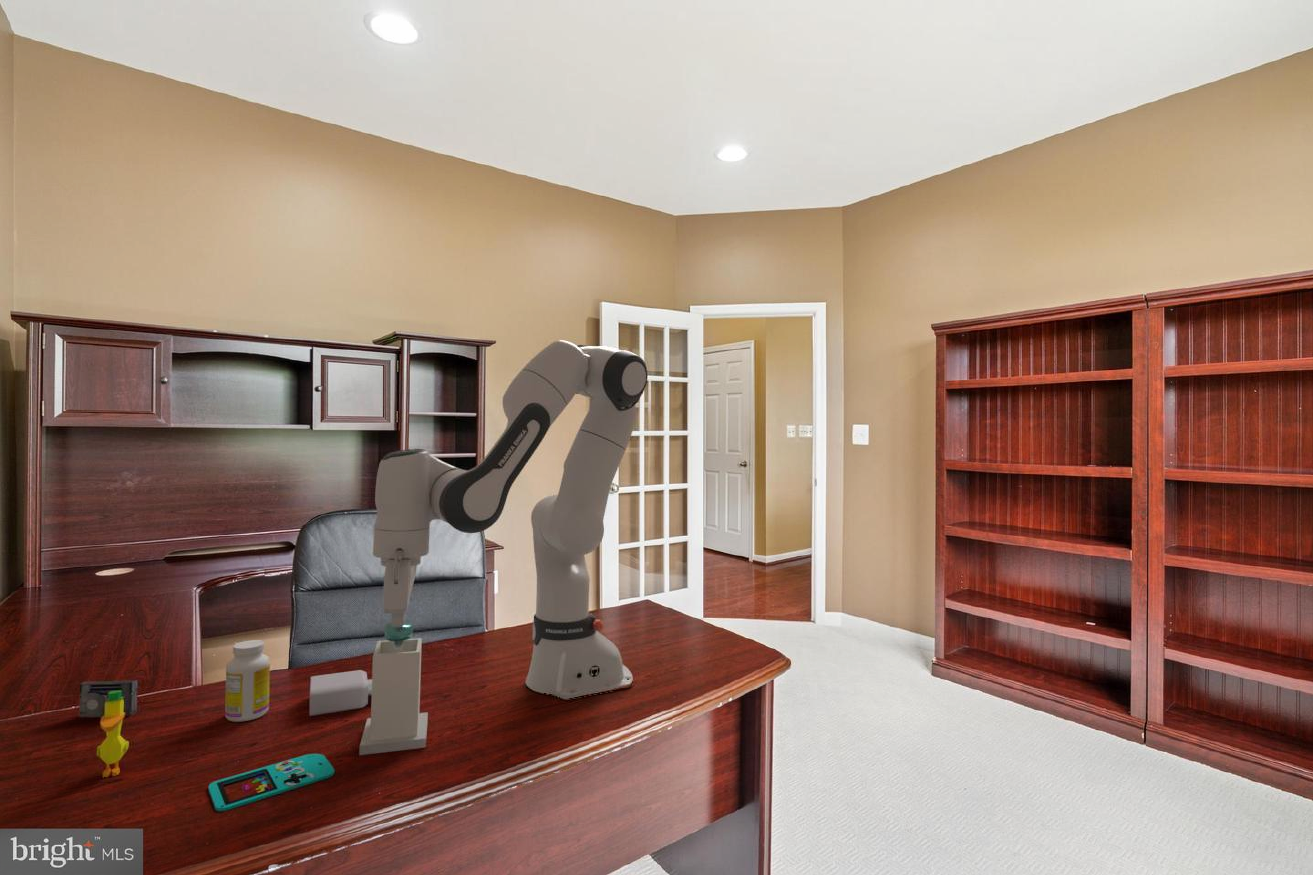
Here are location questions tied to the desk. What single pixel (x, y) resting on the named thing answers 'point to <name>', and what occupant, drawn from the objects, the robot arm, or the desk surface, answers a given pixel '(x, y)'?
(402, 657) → the press housing
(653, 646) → the desk surface
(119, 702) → the toy figure
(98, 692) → the mini dv tape
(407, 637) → the plunger
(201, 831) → the desk surface
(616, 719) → the desk surface
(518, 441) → the robot arm
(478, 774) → the desk surface
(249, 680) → the supplement bottle
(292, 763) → the handheld gaming console
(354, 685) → the charger
